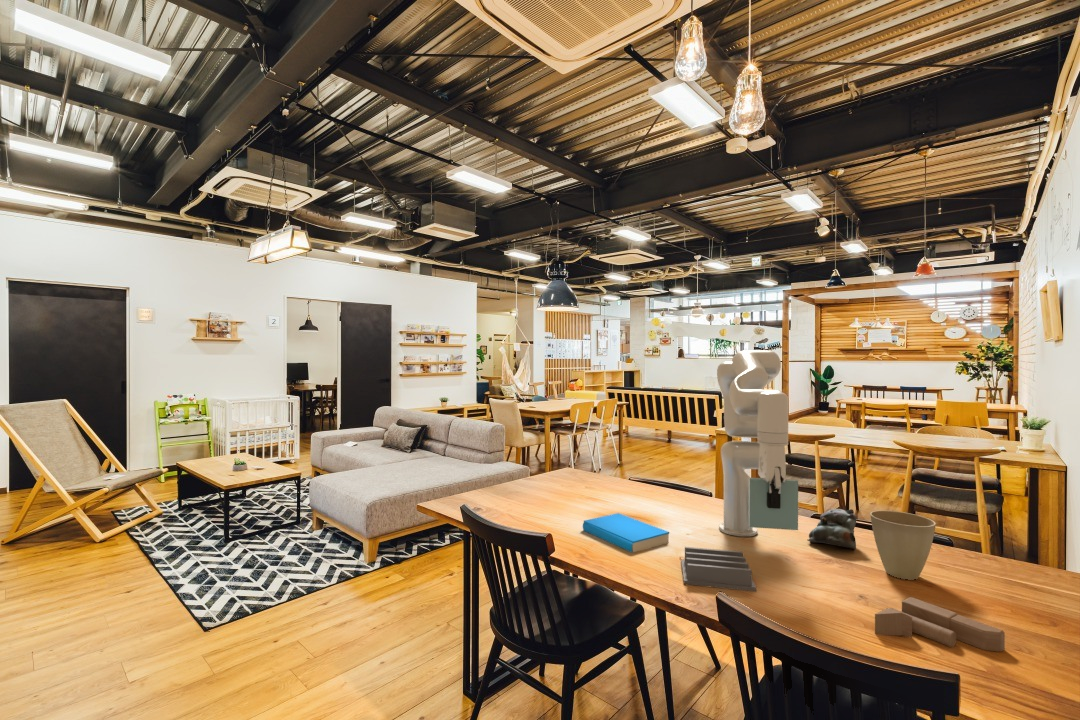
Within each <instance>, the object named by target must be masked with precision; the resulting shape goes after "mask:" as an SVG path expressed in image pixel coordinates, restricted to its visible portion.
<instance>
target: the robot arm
mask: <svg viewBox="0 0 1080 720" xmlns="http://www.w3.org/2000/svg"><path fill="white" fill-rule="evenodd" d="M781 364H782V363H781V359H780V357H779V354H777V353H776V352H775V351H774V350H773V351H772V350H741V351H739V352H736V353H735V355H734V356H733V357H732V359H731V361H724V362H721V363H719V365H718V366H717V368H716V376H717V377H716V378H717V383H718V387H719V388H720V389H719V390H720V391H721V394H722V397H723V398H722V399H723V419H724V421H723V422H724V431H725V433H726V434H727V436H729V437H732V438H748V439H749V438H750V439H752V438H753V439H755V438H756V439H757V441H746V440H745V441H744V440H730V441H727V442H725V443H723V444H722V446H721V448H720V458H721V463H722V472H723V473H722V474H723V522H722V523H720V524H719V525H718V529H719V531H720V532H721V533H723V534H727V535H730V536H735V537H742V538H743V537H748V538H749V537H755V536H756V535H757V534H758V528H755V527H749V478H751V477H750V476H749V475H748V473H746V471H745V470H757V474H758V476H759V478H762V479H763V480H764V481H765V482H766V483H768V492H769V493H768V492H767V507H768V508H776V509H780V493H781V483H784V482H785V479H787V478H786V477H787V474H786V472H787V469H786V468H787V465H786V462H787V461H786V447H785V446H788V445H789V397H788V395H787V394H786V393H784V392H783V391H781V390H778V389H764V388H766V386H767V385H768V384H770V383H771V382H773V380H775V379H776V377H778V375H779V374H780V371H781V369H782V367H781V366H782V365H781ZM772 480H774V481H772ZM772 484H774V485H772Z"/></svg>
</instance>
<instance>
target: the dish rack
mask: <svg viewBox="0 0 1080 720" xmlns="http://www.w3.org/2000/svg"><path fill="white" fill-rule="evenodd" d="M746 561H747V559H746V557H745V556H744V552H743V551H740V550H730V549H728V550H727V549H715V548H705V547H704V548H703V547H690V546H684V559H683V558H681V560H680V564H681V571H682V572H681V573H682V579H683V584H684V585H686V584H688V585H687V586H689V585H690V586H696V585H697V586H699V587H706V586H711V587H710V588H716V587H718V588H717V589H728V590H739V591H747V592H748V591H749V592H757V586H756V584H755V581H754V580H753V578H752V569H751V568H749V566H750V565H749V562H746Z"/></svg>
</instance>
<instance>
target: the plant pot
mask: <svg viewBox="0 0 1080 720" xmlns="http://www.w3.org/2000/svg"><path fill="white" fill-rule="evenodd" d="M869 515H870V521H871V526H872V527H871V528H872V532H873V533H872V534H873V536H874V541H875V544H876V548H877V552H878V555H879V557H880V560H881V563H882V566H883V568H884V571H885V573H887V574H888V575H889V574H890V576H891V575H892V576H891V577H893V576H894V578H896V577H897V579H900V578H901V579H900V580H905V579H908V580H907V581H915V580H914V579H916V580H918V579H920V578H919V577H920V575H921V573H922V572H923V570H924V568H925V566H926V563H927V561H928V558H929V555H930V551H931V550H932V545H933V540H934V537H935V531H936V526H937V525H936V524H937V522H935V521H934V520H932V519H930V518H927V517H926V516H922V515H919V514H913V513H910V512H904V511H896V510H874V511H871V512H869Z"/></svg>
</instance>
